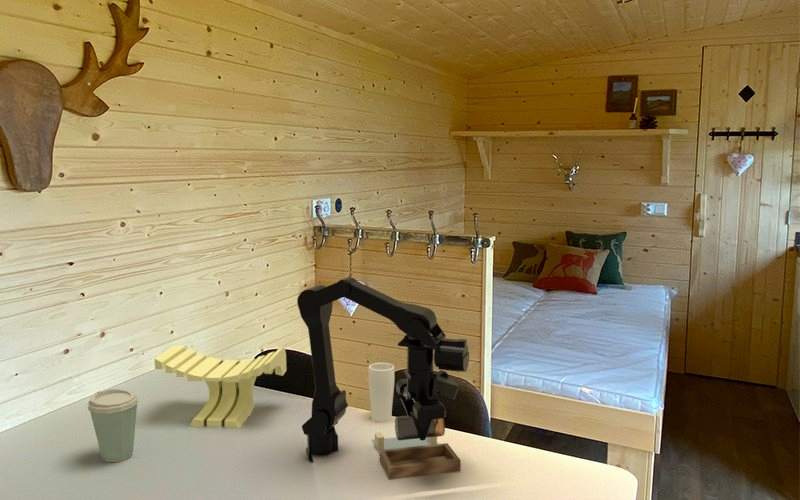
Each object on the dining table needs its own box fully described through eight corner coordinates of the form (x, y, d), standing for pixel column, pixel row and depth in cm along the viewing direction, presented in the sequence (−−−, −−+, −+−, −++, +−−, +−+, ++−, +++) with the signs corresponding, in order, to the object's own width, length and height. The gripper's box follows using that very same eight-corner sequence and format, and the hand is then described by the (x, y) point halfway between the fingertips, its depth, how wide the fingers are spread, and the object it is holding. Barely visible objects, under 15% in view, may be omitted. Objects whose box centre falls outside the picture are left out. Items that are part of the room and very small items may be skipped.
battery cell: (400, 444, 141) (400, 421, 140) (394, 435, 146) (394, 413, 145) (444, 439, 143) (445, 417, 143) (437, 430, 148) (437, 408, 147)
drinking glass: (391, 427, 169) (391, 371, 167) (365, 425, 170) (365, 369, 168) (396, 417, 175) (396, 363, 173) (372, 415, 177) (372, 361, 175)
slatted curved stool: (287, 406, 183) (285, 344, 181) (271, 429, 167) (269, 361, 165) (182, 402, 185) (180, 341, 183) (157, 425, 170) (154, 358, 167)
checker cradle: (379, 460, 150) (379, 443, 150) (371, 443, 159) (371, 428, 158) (441, 453, 154) (441, 436, 153) (430, 437, 163) (430, 422, 162)
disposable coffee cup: (151, 450, 154) (148, 389, 152) (118, 470, 144) (114, 405, 142) (115, 444, 158) (111, 384, 156) (80, 463, 148) (76, 399, 146)
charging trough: (389, 483, 139) (389, 468, 139) (379, 465, 148) (379, 450, 147) (460, 475, 143) (460, 460, 143) (447, 457, 152) (447, 443, 151)
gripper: (470, 377, 135) (468, 449, 137) (442, 352, 153) (441, 416, 155) (418, 381, 133) (417, 454, 135) (395, 355, 150) (395, 420, 153)
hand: (419, 435), depth 144 cm, fingers closed on battery cell, 5 cm apart
